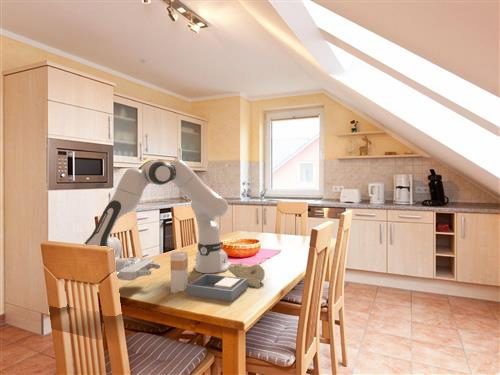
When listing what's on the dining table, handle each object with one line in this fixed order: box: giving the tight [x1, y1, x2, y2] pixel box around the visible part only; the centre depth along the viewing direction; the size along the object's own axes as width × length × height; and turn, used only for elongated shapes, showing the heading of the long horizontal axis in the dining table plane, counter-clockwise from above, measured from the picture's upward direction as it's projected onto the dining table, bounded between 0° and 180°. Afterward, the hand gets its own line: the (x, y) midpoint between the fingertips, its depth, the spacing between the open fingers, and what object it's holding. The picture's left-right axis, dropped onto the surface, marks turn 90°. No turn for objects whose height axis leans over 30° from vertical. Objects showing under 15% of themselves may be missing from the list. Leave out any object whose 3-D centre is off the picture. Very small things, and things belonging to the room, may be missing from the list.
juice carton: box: [170, 251, 189, 294], centre depth 134 cm, size 6×6×16 cm
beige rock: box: [227, 262, 265, 288], centre depth 141 cm, size 15×7×15 cm
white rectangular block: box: [214, 277, 240, 290], centre depth 128 cm, size 10×7×4 cm
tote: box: [185, 273, 249, 303], centre depth 130 cm, size 16×20×5 cm
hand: (155, 269), depth 135 cm, fingers open, 8 cm apart
